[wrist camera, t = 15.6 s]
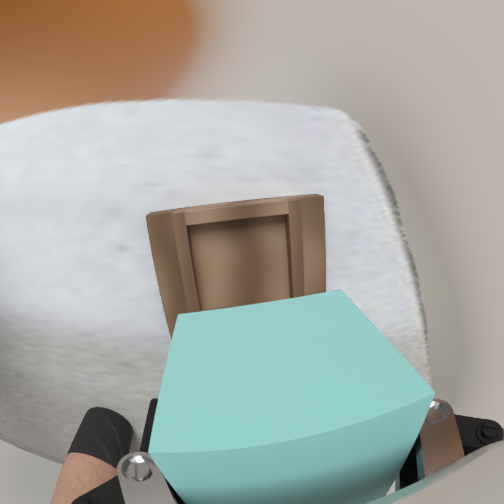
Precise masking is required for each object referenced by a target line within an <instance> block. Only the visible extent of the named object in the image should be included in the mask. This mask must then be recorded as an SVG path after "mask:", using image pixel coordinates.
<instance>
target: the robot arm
mask: <svg viewBox="0 0 504 504" xmlns="http://www.w3.org/2000/svg"><path fill="white" fill-rule="evenodd" d="M157 403H158V399H152V400H151V402H150V406H149V410H148V414H147V419H146V423H145V428H144V433H143V437H142V442H141V447H140V452H132V453H130V454H127V455H126V456H124V457H123V458H122V459H121V460H120V461H119V463H118V466H117V474H118V475H117V476H115V477H113V478H112V479H110V480H108V481H106V482H105V483H103V484H101V485H99V486H98V487H96V488H94V489H92V490H90V491H89V492H87V493H85V494H83V495H81V496H79V497H77V498H76V499H75V500H73V502H72V503H71V504H185V502H184V501H183V500H182V499H181V497H180V496H179V495H178V494H177V492H176V491H175V490H174V488H173V487H172V486H171V485H170V483H169V482H168V480H167V479H166V478H165V476H164V475H163V474H162V472H161V471H160V469H159V468H158V466H157V465H156V463H155V462H154V461H153V459H152V458H151V456H150V454H149V453H148V450H149V444H150V439H151V433H152V428H153V423H154V418H155V413H156V408H157ZM395 490H396V491H395V492H394V493H391V494H389V495H386V496H384V497H381V498H379V499H376V500H373V501H371V502H368V503H365V504H504V428H503V429H502V427H501V426H500V425H499V424H498V423H497V422H495V421H493V420H488V419H481V418H473V417H467V416H461V415H455V414H454V412H453V409H452V407H451V406H450V405H449V404H448V403H447V402H446V401H444V400H441V399H437V398H433V400H432V403H431V405H430V408H429V411H428V413H427V415H426V418H425V420H424V423H423V425H422V427H421V429H420V432H419V434H418V436H417V438H416V440H415V443H414V445H413V447H412V449H411V451H410V453H409V455H408V457H407V459H406V461H405V462H404V464H403V466H402V468H401V470H400V472H399V473H398V475H397V477H396V479H395Z"/></svg>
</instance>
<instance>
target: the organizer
mask: <svg viewBox="0 0 504 504" xmlns="http://www.w3.org/2000/svg"><path fill="white" fill-rule="evenodd" d="M146 221H147V227H148V233H149V239H150V245H151V250H152V256H153V261H154V266H155V271H156V276H157V281H158V286H159V290H160V295H161V299H162V304H163V308H164V312H165V316H166V320H167V324H168V328H169V332H170V336H171V340H172V336H173V332H174V328H175V324H176V320H177V316H178V314H184V313H193V312H201V311H209V310H216V309H224V308H231V307H238V306H245V305H252V304H258V303H265V302H271V301H277V300H284V299H290V298H296V297H301V296H307V295H313V294H319V293H324V292H326V250H325V218H324V197H323V196H322V195H318V194H310V195H297V196H285V197H274V198H264V199H254V200H244V201H235V202H226V203H217V204H209V205H201V206H193V207H186V208H178V209H171V210H164V211H157V212H151V213H149V214H148V215H146Z"/></svg>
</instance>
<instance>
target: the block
mask: <svg viewBox="0 0 504 504" xmlns="http://www.w3.org/2000/svg"><path fill="white" fill-rule="evenodd" d="M434 395H435V392H434V391H433V389H432V388H431V387H430V386H429V385H428V384H427V383H426V381H425V380H424V379H423V378H422V377H421V376H420V375H419V373H418V372H417V371H416V370H415V369H414V368H413V367H412V366H411V365H410V363H409V362H408V361H407V360H406V359H405V358H404V357H403V356H402V355H401V353H400V352H399V351H398V350H397V349H396V348H395V347H394V346H393V345H392V344H391V342H390V341H389V340H388V339H387V338H386V337H385V336H384V335H383V334H382V333H381V332H380V331H379V329H378V328H377V327H376V326H375V325H374V324H373V323H372V322H371V321H370V320H369V319H368V318H367V317H366V316H365V314H364V313H363V312H362V311H361V310H360V309H359V308H358V307H357V306H356V305H355V304H354V303H353V302H352V301H351V300H350V299H349V298H348V297H347V296H346V295H345V293H344V292H343V291H342V290H341V289H340V290H335V291H329V292H324V293H319V294H313V295H307V296H301V297H296V298H290V299H284V300H277V301H271V302H265V303H258V304H252V305H245V306H238V307H231V308H224V309H216V310H209V311H201V312H193V313H184V314H178V316H177V320H176V324H175V328H174V332H173V336H172V340H171V345H170V349H169V353H168V357H167V362H166V366H165V370H164V375H163V379H162V384H161V388H160V393H159V398H158V403H157V408H156V413H155V418H154V423H153V428H152V433H151V439H150V444H149V450H148V453H149V454H150V456H151V458H152V459H153V461H154V462H155V463H156V465H157V466H158V468H159V469H160V471H161V472H162V474H163V475H164V476H165V478H166V479H167V480H168V482H169V483H170V485H171V486H172V487H173V488H174V490H175V491H176V492H177V494H178V495H179V496H180V497H181V499H182V500H183V501H184V502H185V504H365V503H368V502H371V501H373V500H376V499H379V498H381V497H384V496H385V495H386V494H387V492H388V490H389V489H390V487H391V485H392V484H393V482H394V480H395V479H396V477H397V475H398V473H399V472H400V470H401V468H402V466H403V464H404V462H405V461H406V459H407V457H408V455H409V453H410V451H411V449H412V447H413V445H414V443H415V440H416V438H417V436H418V434H419V432H420V429H421V427H422V425H423V423H424V420H425V418H426V415H427V413H428V411H429V408H430V405H431V403H432V400H433V397H434Z"/></svg>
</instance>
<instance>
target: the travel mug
mask: <svg viewBox="0 0 504 504" xmlns="http://www.w3.org/2000/svg"><path fill="white" fill-rule="evenodd" d="M131 438H132V427H131V425H130V423H129V422H128V421H127V420H126V419H125V418H124V417H123V416H121V415H120V414H118V413H116V412H114V411H112V410H110V409H106V408H101V407H94V408H91V409H89V410H88V411H87V413H86V414H85V416H84V418H83V420H82V423H81V425H80V427H79V429H78V431H77V433H76V435H75V438H74V440H73V442H72V444H71V447H70V449H69V451H68V453H67V456H66V459H65V461H64V464H63V467H62V470H61V473H60V476H59V479H58V482H57V485H56V488H55V491H54V494H53V498H52V501H51V504H71V503H72V502H73V500H75V499H76V498H77V497H79V496H81V495H83V494H85V493H87V492H89V491H90V490H92V489H94V488H96V487H98V486H99V485H101V484H103V483H105V482H106V481H108V480H110V479H112V478H113V477H115V476H117V475H118V474H117V466H118V463H119V461H120V460H121V459H122V458H123V457H124V456H126V455H127V454H129V449H130V443H131Z"/></svg>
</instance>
